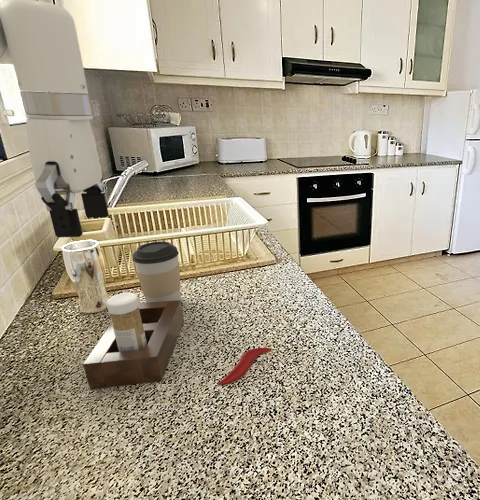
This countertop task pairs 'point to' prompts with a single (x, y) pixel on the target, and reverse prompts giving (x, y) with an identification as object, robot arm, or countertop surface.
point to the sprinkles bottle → (127, 322)
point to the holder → (138, 361)
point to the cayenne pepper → (243, 365)
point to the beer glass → (87, 274)
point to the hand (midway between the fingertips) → (84, 225)
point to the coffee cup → (158, 271)
